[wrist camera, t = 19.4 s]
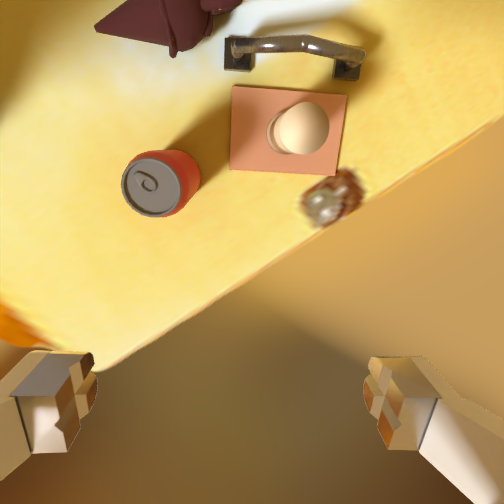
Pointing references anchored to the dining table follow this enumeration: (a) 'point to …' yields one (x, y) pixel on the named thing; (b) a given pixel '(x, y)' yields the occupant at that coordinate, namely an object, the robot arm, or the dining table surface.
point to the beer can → (160, 182)
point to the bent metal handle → (343, 55)
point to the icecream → (165, 21)
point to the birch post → (298, 129)
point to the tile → (255, 126)
